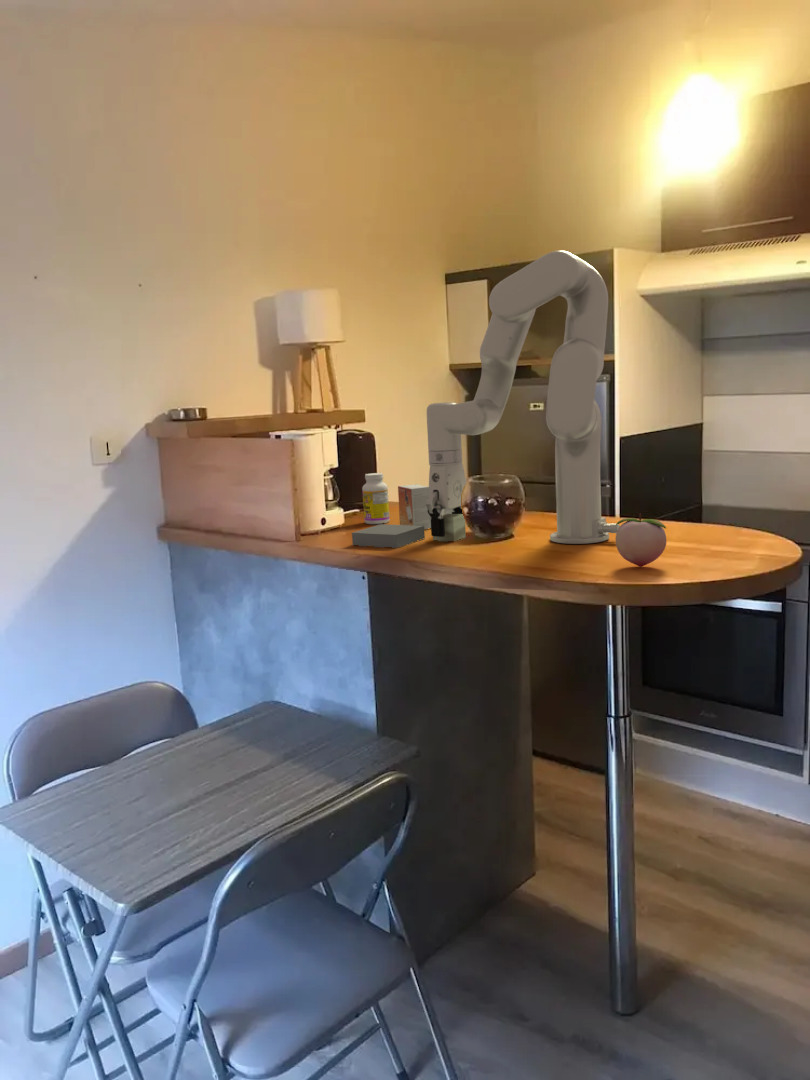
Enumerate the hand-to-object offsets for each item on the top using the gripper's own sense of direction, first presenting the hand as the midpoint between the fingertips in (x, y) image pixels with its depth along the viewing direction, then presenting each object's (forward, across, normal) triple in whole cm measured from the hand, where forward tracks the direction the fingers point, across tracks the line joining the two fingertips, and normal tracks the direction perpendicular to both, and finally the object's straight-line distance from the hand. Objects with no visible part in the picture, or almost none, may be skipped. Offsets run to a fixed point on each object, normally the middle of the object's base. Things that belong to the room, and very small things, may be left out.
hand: (448, 532), depth 209 cm
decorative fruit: (+1, -18, -50) cm, 53 cm away
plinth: (+2, -7, +12) cm, 14 cm away
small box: (+2, +12, +16) cm, 20 cm away
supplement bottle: (+2, +17, +31) cm, 35 cm away
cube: (+2, 0, 0) cm, 2 cm away
